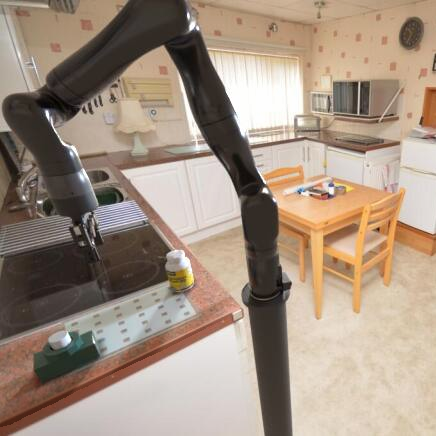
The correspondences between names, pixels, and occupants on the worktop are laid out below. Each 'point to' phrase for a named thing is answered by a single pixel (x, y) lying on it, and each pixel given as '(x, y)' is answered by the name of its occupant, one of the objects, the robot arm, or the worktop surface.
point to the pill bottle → (179, 271)
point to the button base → (65, 356)
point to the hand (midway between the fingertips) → (96, 252)
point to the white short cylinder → (59, 340)
